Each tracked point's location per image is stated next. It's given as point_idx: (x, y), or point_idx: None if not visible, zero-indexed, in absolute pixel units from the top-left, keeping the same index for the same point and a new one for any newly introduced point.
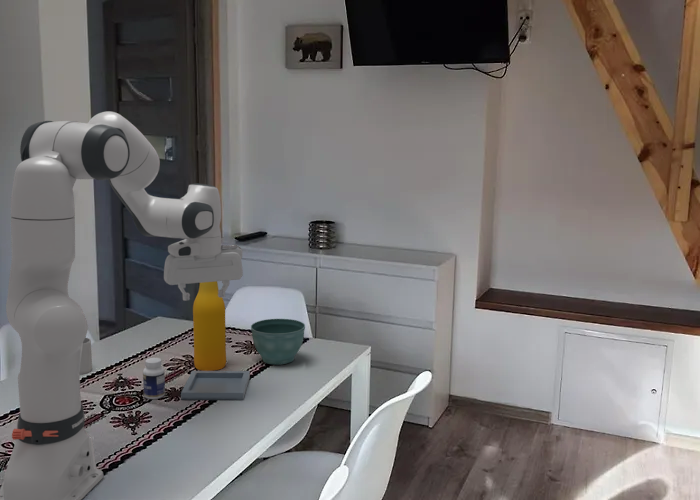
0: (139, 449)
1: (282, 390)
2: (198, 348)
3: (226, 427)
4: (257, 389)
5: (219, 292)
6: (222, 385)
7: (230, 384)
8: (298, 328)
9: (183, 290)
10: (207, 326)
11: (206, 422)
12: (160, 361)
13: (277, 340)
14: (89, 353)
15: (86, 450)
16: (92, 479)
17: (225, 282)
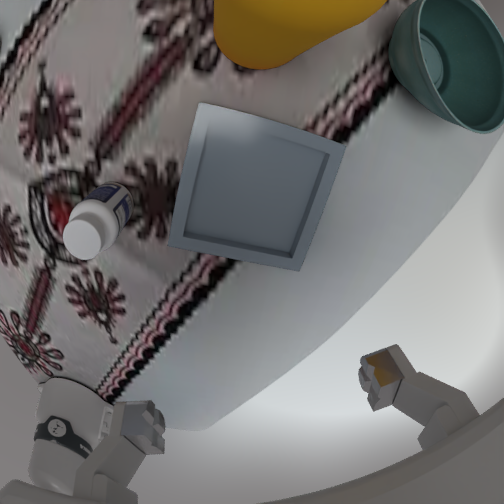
0: (132, 375)
1: (375, 232)
2: (225, 42)
3: (245, 349)
4: (336, 216)
5: (371, 397)
6: (267, 186)
7: (287, 184)
8: (496, 58)
9: (125, 477)
10: (270, 40)
11: (216, 332)
12: (100, 247)
13: (450, 120)
14: None
15: (102, 438)
16: (111, 417)
17: (427, 445)
